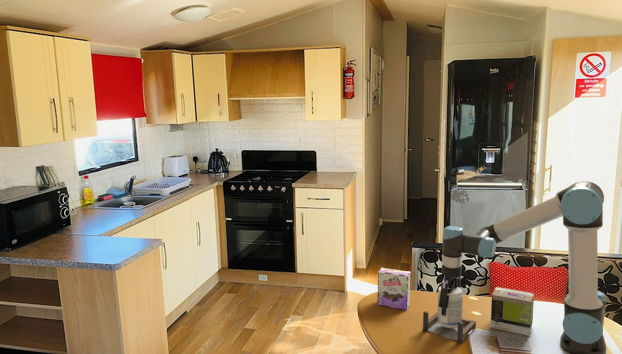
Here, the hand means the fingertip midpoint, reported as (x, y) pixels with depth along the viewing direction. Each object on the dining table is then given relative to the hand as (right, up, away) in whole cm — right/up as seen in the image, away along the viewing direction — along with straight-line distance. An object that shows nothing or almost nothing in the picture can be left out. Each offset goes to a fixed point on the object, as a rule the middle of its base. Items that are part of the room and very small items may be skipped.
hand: (449, 317), depth 192 cm
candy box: (-19, -2, +24) cm, 30 cm away
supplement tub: (0, -3, +1) cm, 3 cm away
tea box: (+26, -5, +3) cm, 27 cm away
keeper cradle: (0, -5, +1) cm, 5 cm away
